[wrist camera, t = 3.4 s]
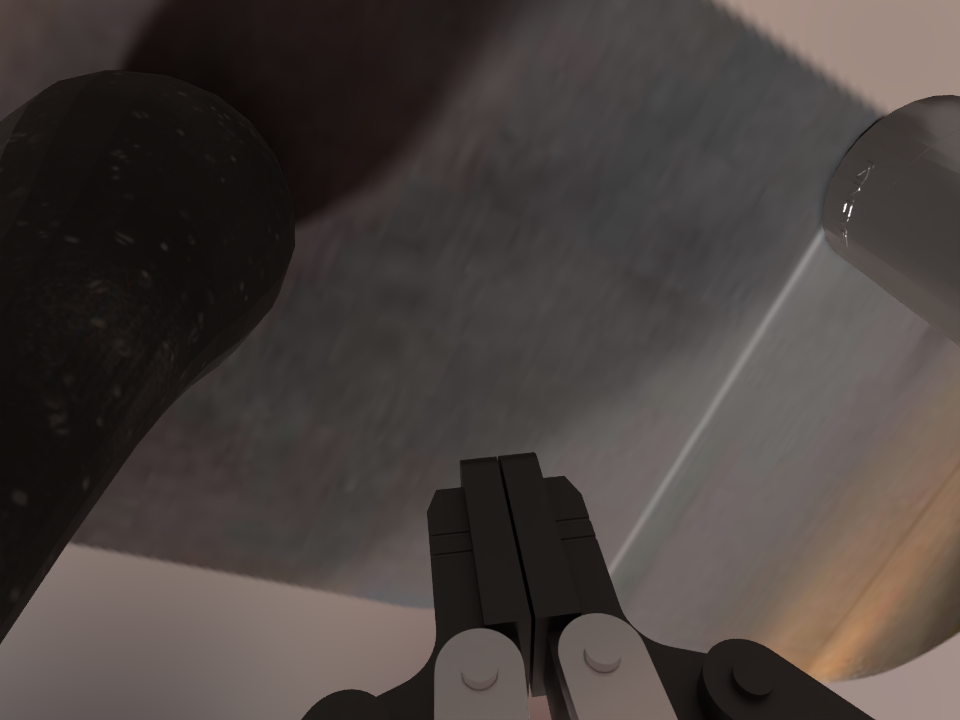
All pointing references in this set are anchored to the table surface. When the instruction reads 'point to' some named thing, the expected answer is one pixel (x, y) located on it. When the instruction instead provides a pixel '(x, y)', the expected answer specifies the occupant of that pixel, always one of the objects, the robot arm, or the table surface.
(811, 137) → the table surface
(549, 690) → the robot arm
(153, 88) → the bottle
